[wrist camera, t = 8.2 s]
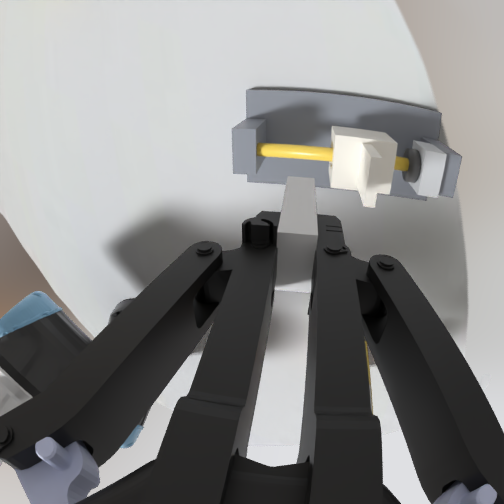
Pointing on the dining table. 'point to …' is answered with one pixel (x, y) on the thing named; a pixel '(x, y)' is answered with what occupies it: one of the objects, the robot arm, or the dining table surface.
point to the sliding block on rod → (319, 140)
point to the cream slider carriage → (362, 162)
